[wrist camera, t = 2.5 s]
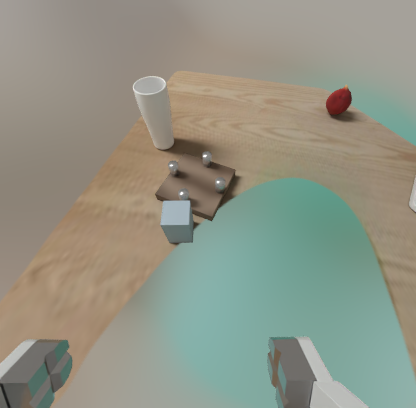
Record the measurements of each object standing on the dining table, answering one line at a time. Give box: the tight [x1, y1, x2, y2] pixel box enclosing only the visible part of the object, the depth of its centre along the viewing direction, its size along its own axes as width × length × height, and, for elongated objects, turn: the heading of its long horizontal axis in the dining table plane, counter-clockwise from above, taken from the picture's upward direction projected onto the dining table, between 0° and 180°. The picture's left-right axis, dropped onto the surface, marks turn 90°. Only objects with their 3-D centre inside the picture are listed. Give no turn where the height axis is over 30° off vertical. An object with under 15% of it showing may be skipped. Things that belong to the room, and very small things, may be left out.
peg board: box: [155, 151, 235, 221], centre depth 43 cm, size 13×13×5 cm
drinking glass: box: [133, 76, 174, 150], centre depth 46 cm, size 7×7×15 cm
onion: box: [326, 85, 352, 115], centre depth 54 cm, size 6×6×8 cm
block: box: [161, 201, 194, 243], centre depth 36 cm, size 4×4×8 cm
